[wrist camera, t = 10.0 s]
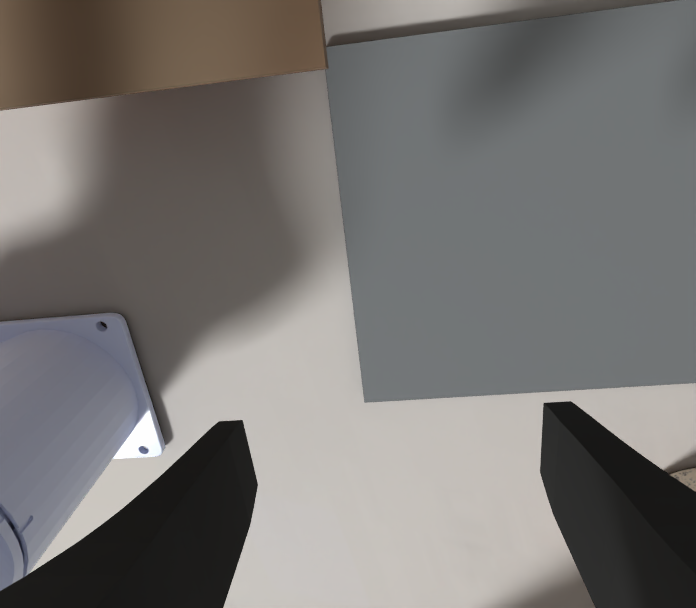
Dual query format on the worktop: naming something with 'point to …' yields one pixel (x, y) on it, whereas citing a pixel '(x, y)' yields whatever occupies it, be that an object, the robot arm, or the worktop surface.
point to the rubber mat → (521, 203)
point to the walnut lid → (149, 45)
